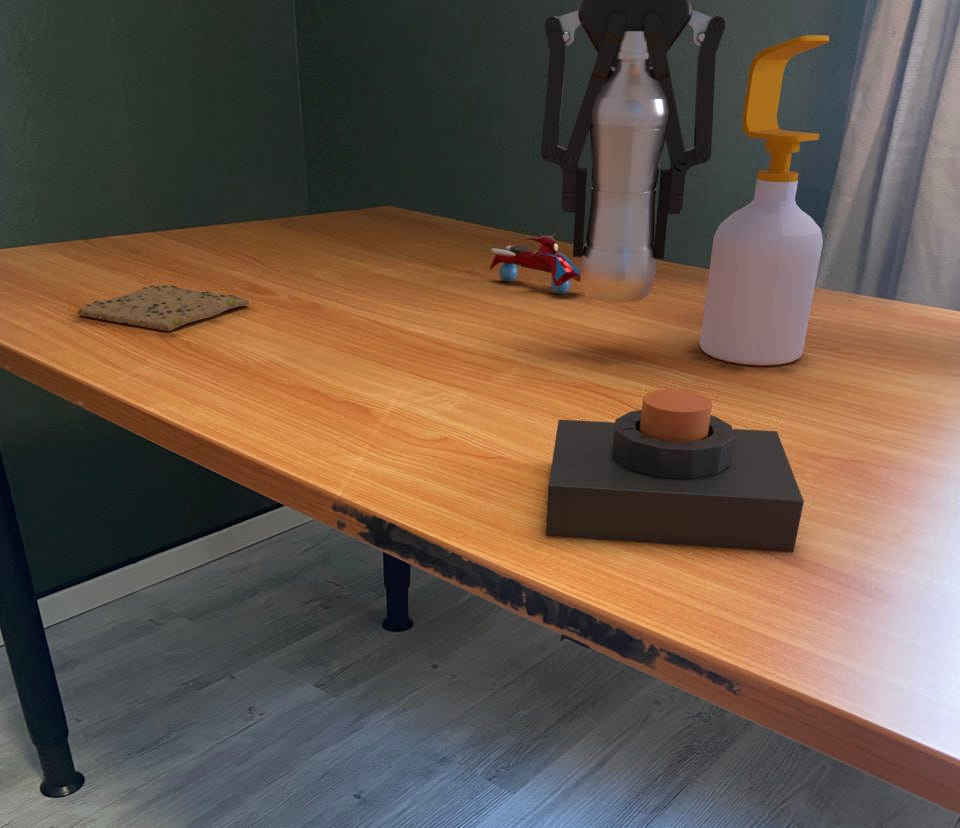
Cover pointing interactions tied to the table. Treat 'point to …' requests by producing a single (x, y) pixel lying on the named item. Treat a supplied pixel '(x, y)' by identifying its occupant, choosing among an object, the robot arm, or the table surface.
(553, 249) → the hoverbike
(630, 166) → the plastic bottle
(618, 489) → the button base
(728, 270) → the soap bottle
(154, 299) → the tan flat square slab
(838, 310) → the table surface
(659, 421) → the button
